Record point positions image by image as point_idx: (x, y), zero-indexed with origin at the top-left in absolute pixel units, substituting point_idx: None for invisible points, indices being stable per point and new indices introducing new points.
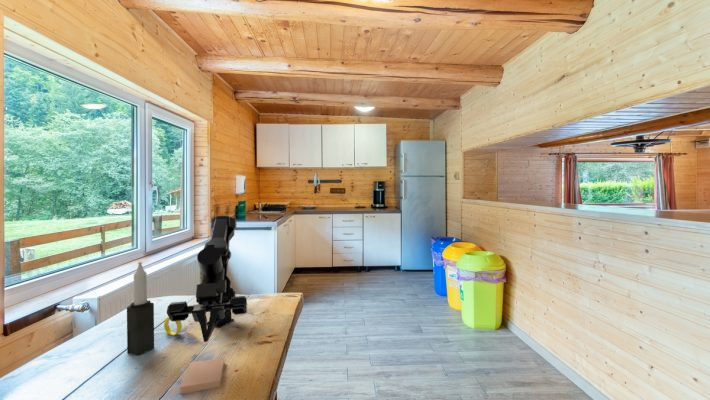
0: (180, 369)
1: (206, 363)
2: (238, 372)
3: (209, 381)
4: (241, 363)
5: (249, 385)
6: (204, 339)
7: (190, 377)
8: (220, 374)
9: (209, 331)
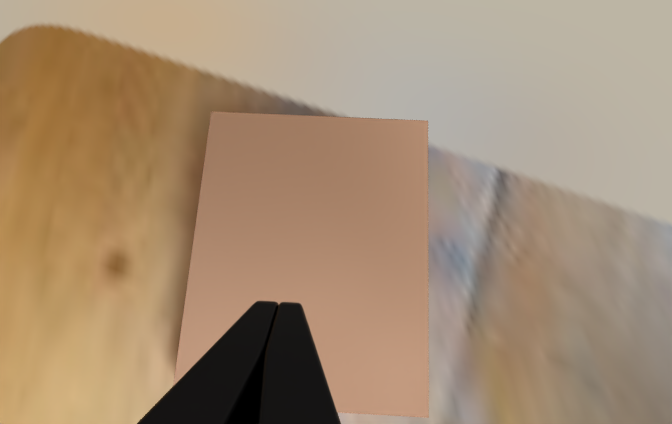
0: (485, 419)
1: None
2: (108, 236)
3: (267, 122)
4: (74, 344)
5: (69, 90)
6: (289, 306)
7: (387, 203)
8: (204, 172)
9: (201, 371)
